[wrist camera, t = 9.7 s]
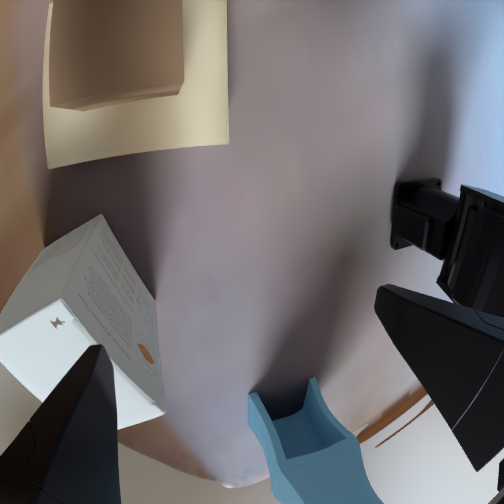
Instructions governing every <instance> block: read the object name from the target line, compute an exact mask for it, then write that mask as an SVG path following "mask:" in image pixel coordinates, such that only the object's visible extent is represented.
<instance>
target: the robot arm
mask: <svg viewBox="0 0 504 504" xmlns="http://www.w3.org/2000/svg"><path fill="white" fill-rule="evenodd" d="M400 187H401V189H400ZM460 191H461V193H460V198H459V197H457V196H454V195H452V194H449V193H446V192H444V191H441V180H440V179H437V178H432V179H421V180H411V181H401V182H398V183H397V184H396V187H395V202H394V216H393V227H392V237H391V248H393V249H394V250H398V249H401V248H405V247H408V246H412V245H414V246H416V247H418V248H419V249H421V250H424V251H426V252H427V253H429V254H431V255H432V256H434V257H436V258H437V259H439V260H442V261H444V262H443V266H442V269H441V272H440V275H439V276H438V278H437V281H436V283H437V284H438V285H439V286H440V287H441V289H442V290H443V291H444V292H445V293H446V294H447V295H448V297H449V298H450V299H451V300H452V301H453V302H454V303H451V302H448V301H445V300H441V299H438V298H435V297H431V296H428V295H425V294H421V293H418V292H415V291H411V290H408V289H405V288H401V287H398V286H395V285H391V284H386V285H383V286H380V287H379V288H378V290H377V295H376V300H375V305H374V309H375V313H376V314H377V316H378V318H379V319H380V321H381V323H382V325H383V326H384V328H385V330H386V331H387V333H388V335H389V337H390V338H391V340H392V342H393V344H394V345H395V347H396V348H397V350H398V351H399V352H400V354H401V355H402V357H403V358H404V359H405V361H406V362H407V364H408V365H409V367H410V368H411V370H412V371H413V372H414V374H415V375H416V377H417V378H418V380H419V381H420V383H421V384H422V386H423V387H424V389H425V390H426V392H427V393H428V395H429V396H430V398H431V399H432V401H433V402H434V404H435V405H436V407H437V408H438V410H439V411H440V413H441V414H442V416H443V418H444V419H445V420H446V422H447V424H448V426H449V427H450V429H451V430H452V432H453V434H454V435H455V437H456V439H457V440H458V442H459V444H460V445H461V447H462V449H463V450H464V452H465V454H466V455H467V457H468V459H469V460H470V462H471V464H472V466H473V467H474V469H475V470H476V472H478V471H479V470H480V469H482V468H483V467H484V466H485V465H486V464H487V463H488V462H490V461H491V460H492V459H493V458H494V457H495V456H496V455H497V454H498V453H499V452H500V451H501V450H502V449H503V448H504V197H503V196H501V195H498V194H495V193H492V192H490V191H487V190H484V189H479V188H475V187H470V186H466V185H461V188H460ZM395 244H396V245H395ZM497 490H498V491H499V493H498V494H497V495H496V496H495V497H494V498H493V499H492V500H491V501H490V502H489V503H488V504H504V459H503V460H502V461H501V462H500V463H499V476H498V486H497ZM0 504H121V496H120V484H119V468H118V435H117V404H116V393H115V381H114V368H113V365H112V362H111V360H110V358H109V356H108V353H107V351H106V349H105V347H104V346H103V345H102V344H96V345H90V346H89V347H88V348H87V349H86V350H85V352H84V353H83V354H82V355H81V356H80V357H79V359H78V360H77V361H76V362H75V363H74V365H73V366H72V367H71V368H70V369H69V371H68V372H67V373H66V374H65V375H64V377H63V378H62V379H61V380H60V382H59V383H58V384H57V385H56V386H55V388H54V389H53V390H52V391H51V393H50V394H49V395H48V396H47V398H46V399H45V400H44V401H43V403H42V404H41V405H40V407H39V408H38V409H37V411H36V412H35V413H34V414H33V416H32V417H31V418H30V422H29V421H28V422H27V424H26V425H25V426H24V427H23V429H22V430H21V431H20V433H19V434H18V435H17V437H16V438H15V439H14V440H13V442H12V443H11V444H10V445H9V446H8V448H7V449H6V450H5V451H4V452H3V453H2V455H1V456H0Z"/></svg>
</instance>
